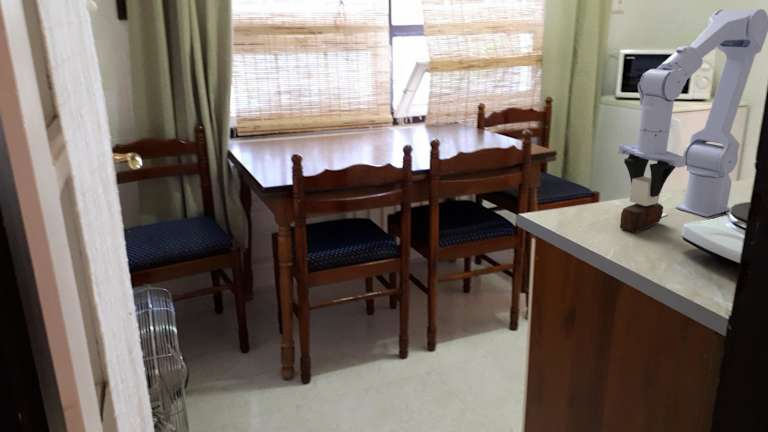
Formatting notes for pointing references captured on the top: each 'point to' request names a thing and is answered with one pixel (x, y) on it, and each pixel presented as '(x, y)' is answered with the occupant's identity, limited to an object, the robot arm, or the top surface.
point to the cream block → (642, 191)
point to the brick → (640, 216)
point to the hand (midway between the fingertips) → (645, 193)
